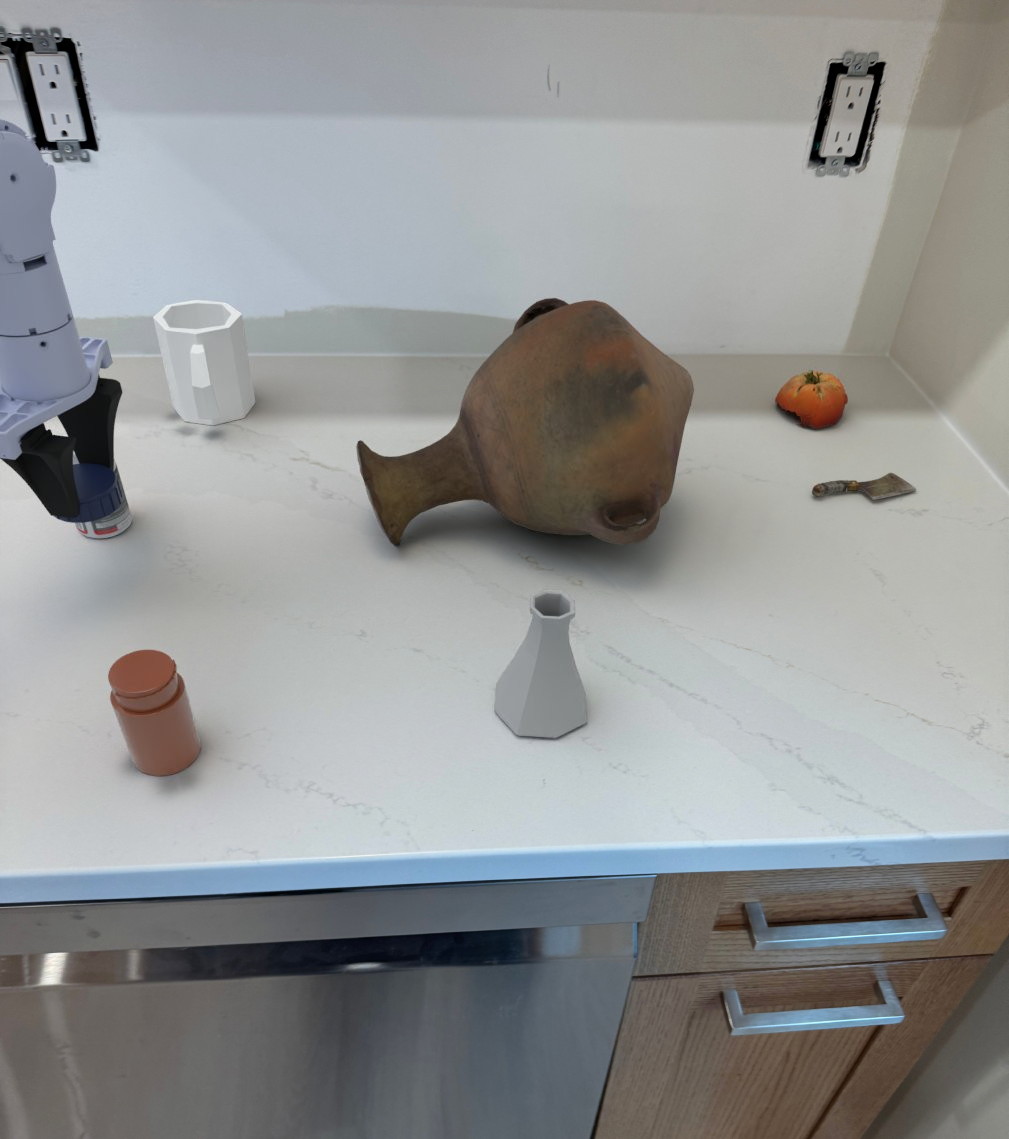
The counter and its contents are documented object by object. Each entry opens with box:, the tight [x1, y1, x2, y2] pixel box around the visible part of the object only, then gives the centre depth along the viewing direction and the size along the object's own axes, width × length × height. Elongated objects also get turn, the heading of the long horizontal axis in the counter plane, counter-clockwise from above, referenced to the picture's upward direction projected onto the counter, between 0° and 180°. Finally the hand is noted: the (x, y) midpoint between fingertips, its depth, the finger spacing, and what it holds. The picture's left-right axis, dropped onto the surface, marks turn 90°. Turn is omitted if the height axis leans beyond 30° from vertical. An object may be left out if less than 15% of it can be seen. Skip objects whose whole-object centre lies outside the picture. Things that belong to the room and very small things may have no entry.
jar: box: [107, 649, 202, 777], centre depth 59 cm, size 5×5×8 cm
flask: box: [494, 588, 588, 739], centre depth 64 cm, size 7×7×10 cm
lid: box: [53, 463, 123, 524], centre depth 69 cm, size 5×5×2 cm
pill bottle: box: [60, 432, 133, 539], centre depth 77 cm, size 5×5×8 cm
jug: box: [355, 297, 695, 547], centre depth 78 cm, size 20×20×30 cm
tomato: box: [774, 367, 849, 430], centre depth 102 cm, size 8×7×7 cm
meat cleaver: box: [811, 472, 917, 500], centre depth 91 cm, size 12×1×5 cm
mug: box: [152, 299, 256, 426], centre depth 92 cm, size 12×9×10 cm
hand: (83, 493), depth 69 cm, fingers closed on lid, 5 cm apart
